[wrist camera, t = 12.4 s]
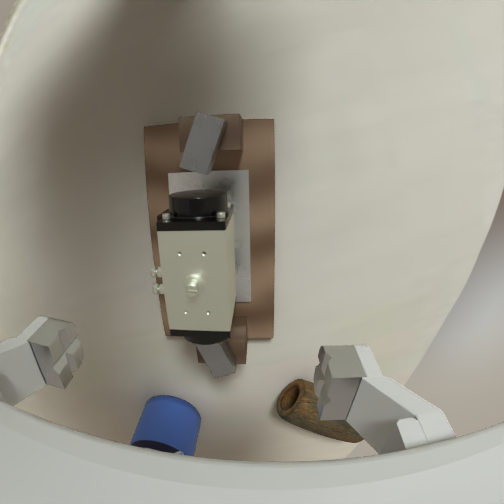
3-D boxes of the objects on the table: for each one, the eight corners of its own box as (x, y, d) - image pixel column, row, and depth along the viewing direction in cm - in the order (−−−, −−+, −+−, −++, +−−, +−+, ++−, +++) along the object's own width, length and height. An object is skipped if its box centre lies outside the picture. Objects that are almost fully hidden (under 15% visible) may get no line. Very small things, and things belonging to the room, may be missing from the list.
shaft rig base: (149, 127, 30) (124, 124, 24) (273, 120, 29) (276, 113, 23) (168, 328, 37) (154, 359, 31) (273, 331, 37) (274, 363, 31)
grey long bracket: (167, 123, 28) (141, 117, 22) (247, 118, 28) (244, 109, 21) (185, 337, 36) (171, 374, 29) (251, 338, 36) (249, 378, 29)
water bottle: (159, 385, 41) (105, 534, 17) (212, 414, 42) (188, 563, 19) (136, 413, 43) (88, 539, 20) (184, 438, 45) (156, 565, 21)
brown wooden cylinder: (269, 396, 41) (269, 431, 35) (298, 365, 39) (303, 400, 33) (345, 425, 43) (352, 456, 37) (374, 399, 41) (386, 430, 35)
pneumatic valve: (237, 181, 30) (222, 202, 18) (240, 291, 33) (230, 361, 22) (181, 183, 30) (135, 204, 19) (189, 291, 34) (159, 358, 22)
